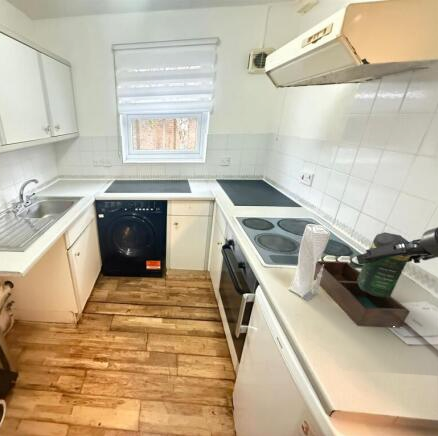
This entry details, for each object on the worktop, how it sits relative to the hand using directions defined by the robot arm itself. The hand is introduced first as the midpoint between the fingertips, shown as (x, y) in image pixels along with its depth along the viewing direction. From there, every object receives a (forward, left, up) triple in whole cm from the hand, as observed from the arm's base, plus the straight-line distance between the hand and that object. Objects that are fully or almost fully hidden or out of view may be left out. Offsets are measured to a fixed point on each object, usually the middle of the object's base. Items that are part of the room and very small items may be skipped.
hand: (374, 260), depth 76 cm
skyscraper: (+16, -5, -18) cm, 25 cm away
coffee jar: (0, +3, -9) cm, 9 cm away
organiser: (0, -3, -18) cm, 18 cm away
